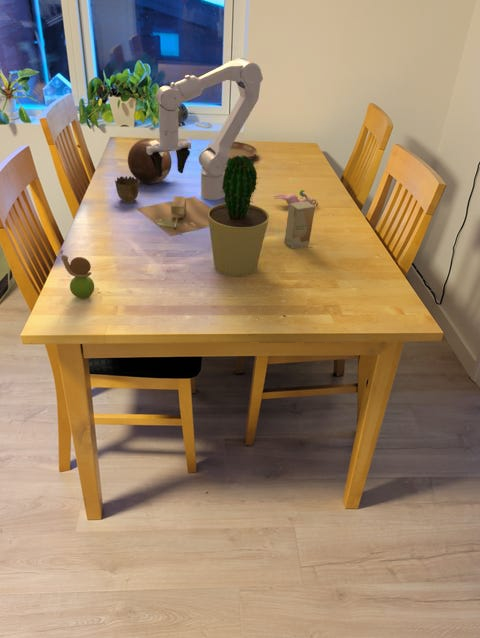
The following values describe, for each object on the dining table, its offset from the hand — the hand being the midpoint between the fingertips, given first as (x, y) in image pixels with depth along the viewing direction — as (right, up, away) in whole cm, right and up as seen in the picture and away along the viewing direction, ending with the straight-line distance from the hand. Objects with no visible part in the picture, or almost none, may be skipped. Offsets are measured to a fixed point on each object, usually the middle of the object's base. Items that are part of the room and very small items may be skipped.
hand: (169, 174), depth 164 cm
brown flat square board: (+5, -15, -3) cm, 16 cm away
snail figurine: (-15, -41, -42) cm, 60 cm away
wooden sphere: (-10, +3, +20) cm, 23 cm away
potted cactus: (+21, -32, -26) cm, 46 cm away
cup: (-14, -9, +4) cm, 17 cm away
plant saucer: (+19, +21, +50) cm, 57 cm away
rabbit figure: (+41, -8, +10) cm, 43 cm away
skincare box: (+39, -24, -13) cm, 48 cm away
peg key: (+3, -15, -6) cm, 17 cm away
